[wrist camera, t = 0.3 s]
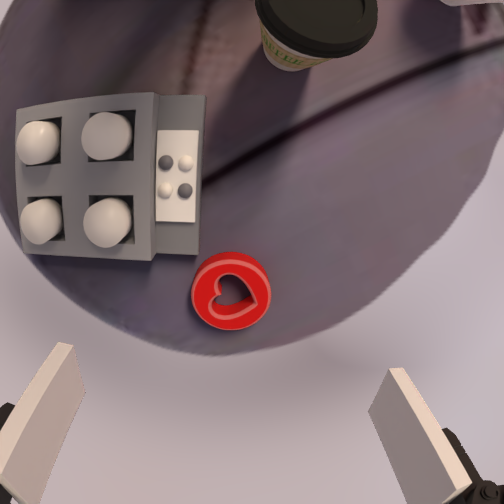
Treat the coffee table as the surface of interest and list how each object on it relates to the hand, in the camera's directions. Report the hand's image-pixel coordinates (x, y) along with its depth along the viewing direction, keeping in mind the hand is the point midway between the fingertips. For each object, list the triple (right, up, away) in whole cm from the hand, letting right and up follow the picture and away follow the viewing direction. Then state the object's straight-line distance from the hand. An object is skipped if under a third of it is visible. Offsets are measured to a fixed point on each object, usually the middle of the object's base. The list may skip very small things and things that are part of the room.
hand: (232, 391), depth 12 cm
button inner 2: (-14, +18, +18) cm, 29 cm away
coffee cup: (+5, +29, +19) cm, 35 cm away
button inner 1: (-23, +18, +17) cm, 34 cm away
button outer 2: (-14, +9, +21) cm, 27 cm away
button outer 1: (-23, +10, +20) cm, 32 cm away
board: (-16, +15, +23) cm, 31 cm away
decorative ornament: (-2, +1, +29) cm, 29 cm away
